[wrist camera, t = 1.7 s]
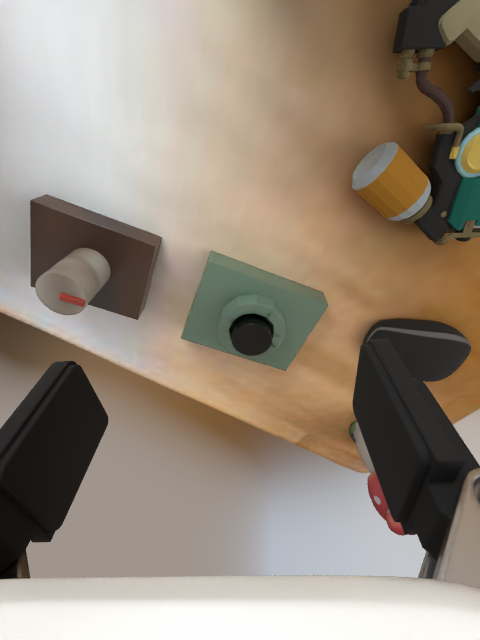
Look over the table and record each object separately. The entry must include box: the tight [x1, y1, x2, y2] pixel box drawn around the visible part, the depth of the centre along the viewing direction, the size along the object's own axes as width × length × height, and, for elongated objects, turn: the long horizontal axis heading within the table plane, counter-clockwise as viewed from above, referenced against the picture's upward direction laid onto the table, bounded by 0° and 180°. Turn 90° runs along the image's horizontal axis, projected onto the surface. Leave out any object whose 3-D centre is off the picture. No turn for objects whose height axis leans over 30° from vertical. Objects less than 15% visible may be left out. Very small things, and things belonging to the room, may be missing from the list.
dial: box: [35, 248, 111, 315], centre depth 27 cm, size 4×4×6 cm
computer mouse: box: [363, 319, 471, 381], centre depth 35 cm, size 7×12×4 cm, turn 79°
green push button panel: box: [181, 251, 328, 371], centre depth 33 cm, size 13×10×4 cm
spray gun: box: [351, 0, 480, 245], centre depth 23 cm, size 4×17×15 cm
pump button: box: [232, 314, 272, 356], centre depth 30 cm, size 4×4×2 cm
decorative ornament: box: [350, 421, 415, 535], centre depth 40 cm, size 9×7×15 cm
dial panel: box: [30, 194, 162, 320], centre depth 30 cm, size 11×9×2 cm
